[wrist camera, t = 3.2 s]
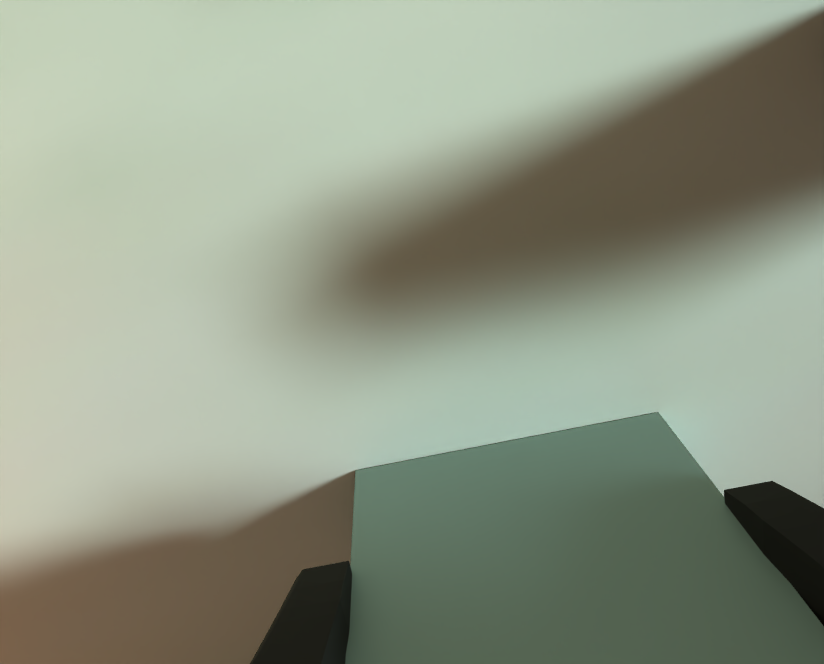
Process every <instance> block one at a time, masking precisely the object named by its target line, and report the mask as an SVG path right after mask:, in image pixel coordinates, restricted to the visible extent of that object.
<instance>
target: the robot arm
mask: <svg viewBox="0 0 824 664" xmlns="http://www.w3.org/2000/svg"><path fill="white" fill-rule="evenodd" d="M724 498H725V504H726V506H727V507H728V508H729V510H730V511H731V512H732V514H733V515H734V516H735V517H736V519H737V520H738V521H739V523H740V524H741V525H742V527H743V528H744V529H745V531H746V532H747V533H748V534H749V536H750V537H751V538H752V540H753V541H754V542H755V544H756V545H757V546H758V548H759V549H760V550H761V551H762V553H763V554H764V555H765V556H766V557H767V559H768V560H769V561H770V562H771V563H772V564H773V565H774V566H775V567H776V568H777V569H778V570H779V571H780V573H781V574H782V575H783V576H784V577H785V578H786V579H787V580H788V581H789V582H790V583H791V585H792V586H793V587H794V589H795V590H796V591H797V592H798V594H799V595H800V596H801V598H802V599H803V600H804V601H805V603H806V604H807V605H808V607H809V608H810V609H811V611H812V612H813V613H814V614H815V616H816V617H817V618H818V620H819V621H820V622H821V623H822V625H823V626H824V508H822V507H820V506H818V505H816V504H815V503H813V502H811V501H809V500H807V499H806V498H804V497H802V496H800V495H798V494H796V493H795V492H793V491H791V490H789V489H787V488H785V487H783V486H781V485H779V484H777V483H775V482H773V481H769V482H764V483H759V484H753V485H748V486H743V487H738V488H732V489H727V490H724ZM351 589H352V571H351V567H350V563H349V561H346V562H341V563H335V564H330V565H325V566H319V567H314V568H309V569H304V570H302V571H301V573H300V574H299V576H298V577H297V578H296V580H295V582H294V584H293V586H292V588H291V590H290V591H289V593H288V595H287V597H286V599H285V601H284V603H283V605H282V607H281V609H280V610H279V612H278V614H277V616H276V618H275V620H274V622H273V623H272V625H271V627H270V629H269V631H268V633H267V634H266V636H265V638H264V640H263V642H262V643H261V645H260V647H259V649H258V651H257V652H256V654H255V656H254V658H253V659H252V661H251V663H250V664H345V659H346V650H347V644H348V637H349V630H350V610H351Z"/></svg>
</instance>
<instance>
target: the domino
mask: <svg viewBox="0 0 824 664" xmlns="http://www.w3.org/2000/svg"><path fill="white" fill-rule="evenodd" d="M350 567H351V571H352V589H351V610H350V630H349V637H348V644H347V650H346V659H345V664H824V626H823V625H822V623H821V622H820V621H819V620H818V618H817V617H816V616H815V614H814V613H813V612H812V611H811V609H810V608H809V607H808V605H807V604H806V603H805V601H804V600H803V599H802V598H801V596H800V595H799V594H798V592H797V591H796V590H795V589H794V587H793V586H792V585H791V583H790V582H789V581H788V580H787V579H786V578H785V577H784V576H783V575H782V574H781V573H780V571H779V570H778V569H777V568H776V567H775V566H774V565H773V564H772V563H771V562H770V561H769V560H768V559H767V557H766V556H765V555H764V554H763V553H762V551H761V550H760V549H759V548H758V546H757V545H756V544H755V542H754V541H753V540H752V538H751V537H750V536H749V534H748V533H747V532H746V531H745V529H744V528H743V527H742V525H741V524H740V523H739V521H738V520H737V519H736V517H735V516H734V515H733V514H732V512H731V511H730V510H729V508H728V507H727V506H726V504H725V498H724V497H723V495H722V494H721V493H720V491H719V490H718V489H717V488H716V486H715V485H714V484H713V482H712V481H711V480H710V479H709V477H708V476H707V475H706V473H705V472H704V471H703V469H702V468H701V467H700V466H699V464H698V463H697V462H696V460H695V459H694V458H693V456H692V455H691V454H690V453H689V451H688V450H687V449H686V447H685V446H684V445H683V444H682V442H681V441H680V440H679V438H678V437H677V436H676V434H675V433H674V432H673V431H672V429H671V428H670V427H669V425H668V424H667V423H666V422H665V420H664V419H663V418H662V416H661V415H660V414H659V412H657V413H652V414H647V415H641V416H636V417H631V418H626V419H621V420H615V421H610V422H605V423H600V424H595V425H589V426H584V427H579V428H574V429H569V430H563V431H558V432H553V433H548V434H543V435H538V436H532V437H527V438H522V439H517V440H512V441H506V442H501V443H496V444H491V445H486V446H480V447H475V448H470V449H465V450H460V451H454V452H449V453H444V454H439V455H434V456H428V457H423V458H418V459H413V460H408V461H402V462H397V463H392V464H387V465H382V466H377V467H371V468H366V469H361V470H356V472H355V491H354V509H353V528H352V547H351V565H350Z"/></svg>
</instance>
